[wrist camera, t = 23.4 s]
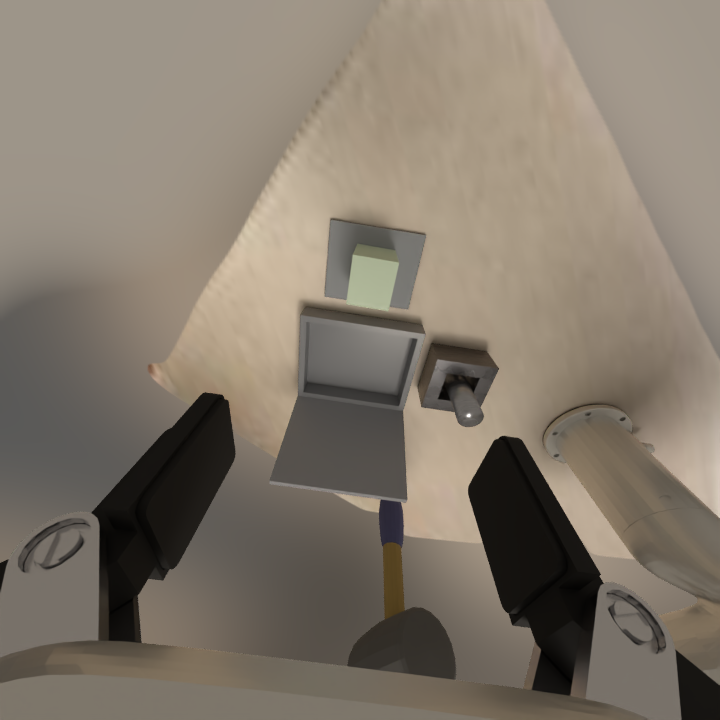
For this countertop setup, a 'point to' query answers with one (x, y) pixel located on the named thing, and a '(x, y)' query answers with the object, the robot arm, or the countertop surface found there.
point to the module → (372, 277)
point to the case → (357, 358)
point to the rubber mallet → (402, 618)
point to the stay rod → (463, 400)
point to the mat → (351, 234)
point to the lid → (343, 450)
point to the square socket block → (458, 362)
